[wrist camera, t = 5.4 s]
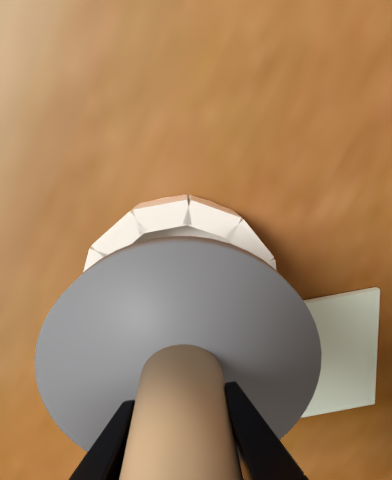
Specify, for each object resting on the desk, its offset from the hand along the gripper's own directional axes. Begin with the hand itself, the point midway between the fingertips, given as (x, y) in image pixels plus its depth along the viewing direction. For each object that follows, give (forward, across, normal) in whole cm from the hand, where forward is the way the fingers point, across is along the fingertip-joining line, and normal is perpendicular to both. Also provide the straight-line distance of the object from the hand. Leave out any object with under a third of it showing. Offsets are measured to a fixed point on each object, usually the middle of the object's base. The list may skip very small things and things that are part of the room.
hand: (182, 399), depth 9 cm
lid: (+2, 0, 0) cm, 2 cm away
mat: (+10, -9, +10) cm, 17 cm away
